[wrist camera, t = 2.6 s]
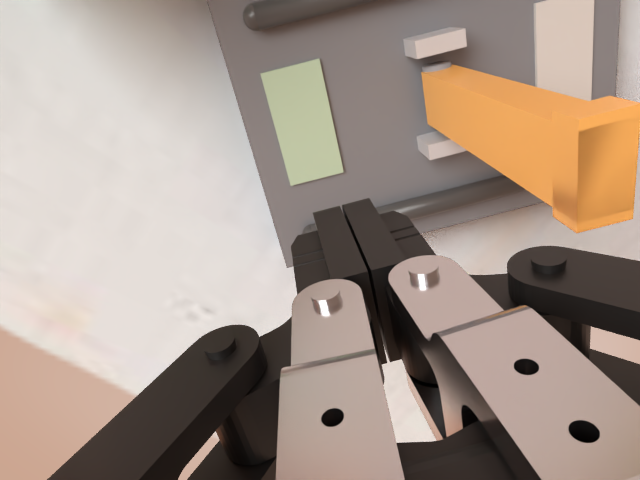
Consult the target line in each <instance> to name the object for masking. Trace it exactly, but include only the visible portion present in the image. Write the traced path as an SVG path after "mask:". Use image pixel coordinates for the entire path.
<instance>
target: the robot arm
mask: <svg viewBox="0 0 640 480" xmlns="http://www.w3.org/2000/svg"><path fill="white" fill-rule="evenodd" d="M342 211H343V212H342ZM313 216H314V220H315V224H316V228H317V230H316V231H313V232H309V233H305V234H301V235H297V237H296V239H295V240H294V242H293V244H292V245H291V252H292V258H293V266H294V273H295V281H296V288H297V296H296V297H295V299H294V301H293V303H292V317H291V318H290V319H289V320H288V321H287V322H285V323H284V324H283V325H281V326H280V327H278V328H276V329H275V330H273V331H271V332H269V333H267V334H265V335H263V336H260V337H259V336H258V334H257V332H256V331H255V330H254V329H253V328H251V327H249V326H245V325H229V326H225V327H221V328H218V329H215V330H213V331H211V332H209V333H207V334H205V335H204V336H202V337H201V338H199V339H198V340H197V341H196V342H195V343H194V344H193V345H191V346H190V347H189V348H188V349H187V350H186V351H185V352H184V353H183V354H182V355H181V356H180V357H179V358H177V359H176V360H175V361H174V362H173V363H172V364H171V365H170V366H169V367H168V368H167V369H166V370H165V371H164V372H162V373H161V374H160V375H159V376H158V377H157V378H156V379H155V380H154V381H153V382H152V383H151V384H150V385H148V386H147V387H146V388H145V389H144V390H143V391H142V392H141V393H140V394H139V395H138V396H137V397H136V398H134V399H133V400H132V401H131V402H130V403H129V404H128V405H127V406H126V407H125V408H124V409H123V410H122V411H121V412H119V413H118V414H117V415H116V416H115V417H114V418H113V419H112V420H111V421H110V422H109V423H108V424H107V425H106V426H104V427H103V428H102V429H101V430H100V431H99V432H98V433H97V434H96V435H95V436H94V437H93V438H91V440H89V441H88V442H87V443H86V444H85V445H84V446H83V447H82V448H81V449H80V450H79V451H78V452H76V453H75V454H74V455H73V456H72V457H71V458H70V459H69V460H68V461H67V462H66V463H65V464H64V465H62V466H61V467H60V468H59V469H58V470H57V471H56V472H55V473H54V474H53V475H52V476H51V477H50V478H48V479H47V480H178V478H179V476H180V474H181V472H182V470H183V469H184V467H185V466H186V465H187V464H188V463H189V461H190V460H191V459H192V458H193V457H194V455H195V454H196V453H197V452H198V451H199V449H200V448H201V447H202V446H203V445H204V444H205V443H206V441H207V440H208V439H209V438H210V437H211V436H212V434H213V433H214V432H215V431H216V433H217V435H218V437H219V439H220V441H219V442H218V443H217V444H216V445H215V447H214V448H213V449H212V450H211V451H210V453H209V454H208V455H207V456H206V457H205V459H204V460H203V461H202V462H201V464H200V465H199V466H198V467H197V468H196V470H195V471H194V472H193V473H192V474H191V476H190V477H189V478H188V479H187V480H640V364H636V363H634V362H631V361H627V360H624V359H621V358H618V357H615V356H611V355H608V354H605V353H602V352H598V351H596V350H592V349H590V329H591V326H592V327H595V328H599V329H602V330H606V331H609V332H613V333H616V334H620V335H623V336H627V337H630V338H634V339H638V340H640V261H636V260H630V259H625V258H620V257H614V256H609V255H603V254H598V253H592V252H587V251H581V250H576V249H570V248H565V247H558V246H539V247H533V248H528V249H525V250H522V251H520V252H518V253H516V254H514V255H513V256H512V257H511V258H510V259H509V261H508V263H507V274H495V275H468V274H467V273H466V272H465V271H464V270H463V269H462V268H461V267H460V266H459V265H458V264H457V263H456V262H455V261H453V260H452V259H449V258H447V257H443V256H436V254H435V253H434V252H433V250H432V249H431V247H430V246H429V245H428V243H427V242H426V241H425V239H424V238H423V237H422V235H420V233H419V231H418V230H417V229H416V227H414V224H413V223H412V222H411V220H410V219H409V218H408V216H406V215H403V214H401V213H399V212H396V211H394V210H393V211H390V212H386V213H382V214H379V213H378V211H377V210H376V208H375V206H374V205H373V203H372V202H371V200H370V198H367V199H363V200H359V201H355V202H351V203H347V204H343V205H342V210H341V207H340V206H336V207H332V208H328V209H324V210H320V211H317V212H313ZM383 345H384V346H383ZM384 347H385V350H386V352H387V355H388V358H389V360H390V362H392V361H396V360H400V359H402V361H403V363H404V365H405V369H406V375H407V380H408V385H409V388H410V390H411V392H412V394H413V396H414V398H415V400H416V402H417V404H418V406H419V407H420V409H421V411H422V413H423V415H424V417H425V419H426V421H427V423H428V425H429V427H430V429H431V430H432V432H433V434H434V436H435V438H436V440H437V441H433V442H409V443H396V439H395V434H394V430H393V426H392V421H391V417H390V412H389V408H388V404H387V399H386V395H385V390H384V386H383V385H384V374H383V369H382V365H381V364H385V363H387V360H386V355H385V350H384Z"/></svg>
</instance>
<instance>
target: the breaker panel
mask: <svg viewBox="0 0 640 480" xmlns="http://www.w3.org/2000/svg"><path fill="white" fill-rule="evenodd" d="M207 2H208V5H209V9H210V12H211V15H212V19H213V22H214V26H215V29H216V32H217V36H218V39H219V42H220V46H221V49H222V52H223V56H224V59H225V62H226V66H227V69H228V72H229V76H230V79H231V82H232V86H233V89H234V92H235V96H236V99H237V102H238V106H239V109H240V112H241V116H242V119H243V122H244V126H245V129H246V132H247V136H248V139H249V142H250V146H251V149H252V152H253V156H254V159H255V162H256V166H257V169H258V172H259V176H260V179H261V182H262V186H263V189H264V192H265V196H266V199H267V203H268V206H269V209H270V213H271V216H272V219H273V223H274V226H275V229H276V233H277V236H278V239H279V243H280V246H281V249H282V253H283V256H284V259H285V263H286V266H287V268H289V267H292V266H293V258H292V252H291V245H292V244H293V242H294V240H295V239H296V237H297V235H301V234H305V233H309V232H313V231H316V230H317V228H316V224H315V220H314V216H313V212H317V211H320V210H324V209H328V208H332V207H336V206H340V207H341V210H342V205H343V204H347V203H351V202H355V201H359V200H363V199H367V198H370V200H371V202H372V203H373V205H374V206H375V208H376V210H377V211H378V213H379V214H382V213H386V212H390V211H393V210H394V211H396V212H399V213H401V214H403V215H406V216H408V218H409V219H410V220H411V222H412V223H413V224H414V227H416V229H417V230H418V231H419V233H420V234H421V233H425V232H429V231H433V230H437V229H441V228H445V227H449V226H452V225H456V224H460V223H464V222H468V221H472V220H476V219H480V218H484V217H488V216H492V215H495V214H499V213H503V212H507V211H511V210H515V209H519V208H523V207H527V206H531V205H534V204H538V203H542V202H544V201H542V200H541V199H539V198H538V197H536V196H535V195H533V194H532V193H530V192H529V191H527V190H526V189H524V188H523V187H521V186H520V185H518V184H517V183H515V182H514V181H512V180H511V179H509V178H508V177H506V176H505V175H503V174H502V173H500V172H499V171H497V170H496V169H494V168H493V167H491V166H490V165H488V164H487V163H485V162H484V161H482V160H481V159H479V158H478V157H476V156H475V155H473V154H472V153H471V152H469V151H468V150H466V149H465V148H463V147H462V146H460V145H459V144H457V143H456V142H454V141H453V140H451V139H450V138H448V137H447V136H445V135H444V134H442V133H441V132H439V131H438V130H436V129H435V128H431V127H429V124H428V123H427V115H426V107H425V99H424V91H423V83H422V75H421V72H423V71H422V66H424V65H426V64H429V63H433V62H438V61H445V60H450V61H451V65H452V64H453V65H457V66H461V67H464V68H468V69H472V70H475V71H479V72H483V73H487V74H490V75H494V76H498V77H501V78H505V79H509V80H512V81H516V82H520V83H523V84H527V85H531V86H535V87H538V88H542V89H546V90H549V91H553V92H557V93H560V94H564V95H568V96H571V97H575V98H579V99H583V100H586V101H591V100H595V99H599V98H602V97H606V96H613V97H615V94H616V75H617V55H618V36H619V17H620V0H207ZM342 212H343V211H342Z"/></svg>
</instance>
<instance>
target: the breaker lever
mask: <svg viewBox="0 0 640 480" xmlns="http://www.w3.org/2000/svg"><path fill="white" fill-rule="evenodd" d="M422 71H423V72H421V75H422V83H423V91H424V99H425V107H426V115H427V123H428V124H429V127H431V128H435V129H436V130H438V131H439V132H441V133H442V134H444V135H445V136H447V137H448V138H450V139H451V140H453V141H454V142H456V143H457V144H459V145H460V146H462V147H463V148H465V149H466V150H468V151H469V152H471V153H472V154H473V155H475V156H476V157H478V158H479V159H481V160H482V161H484V162H485V163H487V164H488V165H490V166H491V167H493V168H494V169H496V170H497V171H499V172H500V173H502V174H503V175H505V176H506V177H508V178H509V179H511V180H512V181H514V182H515V183H517V184H518V185H520V186H521V187H523V188H524V189H526V190H527V191H529V192H530V193H532V194H533V195H535V196H536V197H538V198H539V199H541V200H542V201H544V202H545V203H547V204H548V205H550V206H551V207H553V217H554V218H556V219H557V220H558V221H560V222H561V223H563V224H564V225H566V226H567V227H568V228H570V229H571V230H573V231H574V232H576V233H580V232H583V231H587V230H591V229H595V228H599V227H603V226H607V225H611V224H615V223H619V222H622V221H626V220H630V219H633V210H634V197H635V184H636V171H637V158H638V145H639V132H640V103H638V102H634V101H630V100H626V99H622V98H617V97H613V96H606V97H602V98H599V99H595V100H591V101H586V100H583V99H579V98H575V97H571V96H568V95H564V94H560V93H557V92H553V91H549V90H546V89H542V88H538V87H535V86H531V85H527V84H523V83H520V82H516V81H512V80H509V79H505V78H501V77H498V76H494V75H490V74H487V73H483V72H479V71H475V70H472V69H468V68H464V67H461V66H457V65H453V64H452V65H451V61H450V60H445V61H438V62H433V63H429V64H426V65H424V66H422Z"/></svg>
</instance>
